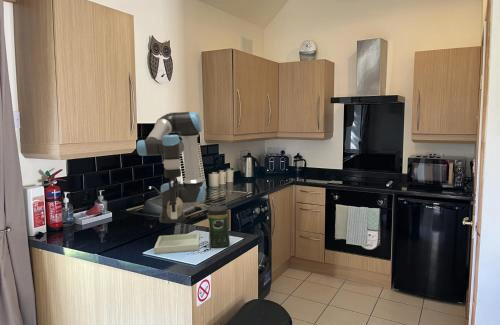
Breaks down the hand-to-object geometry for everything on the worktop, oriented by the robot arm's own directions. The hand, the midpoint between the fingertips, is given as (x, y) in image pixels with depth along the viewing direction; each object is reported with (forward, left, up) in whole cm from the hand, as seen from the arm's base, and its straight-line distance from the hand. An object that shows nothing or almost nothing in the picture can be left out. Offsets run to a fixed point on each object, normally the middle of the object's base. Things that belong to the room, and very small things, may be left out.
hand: (175, 216), depth 178 cm
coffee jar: (+4, +20, -14) cm, 25 cm away
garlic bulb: (0, 0, 0) cm, 1 cm away
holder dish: (0, +1, -14) cm, 14 cm away
